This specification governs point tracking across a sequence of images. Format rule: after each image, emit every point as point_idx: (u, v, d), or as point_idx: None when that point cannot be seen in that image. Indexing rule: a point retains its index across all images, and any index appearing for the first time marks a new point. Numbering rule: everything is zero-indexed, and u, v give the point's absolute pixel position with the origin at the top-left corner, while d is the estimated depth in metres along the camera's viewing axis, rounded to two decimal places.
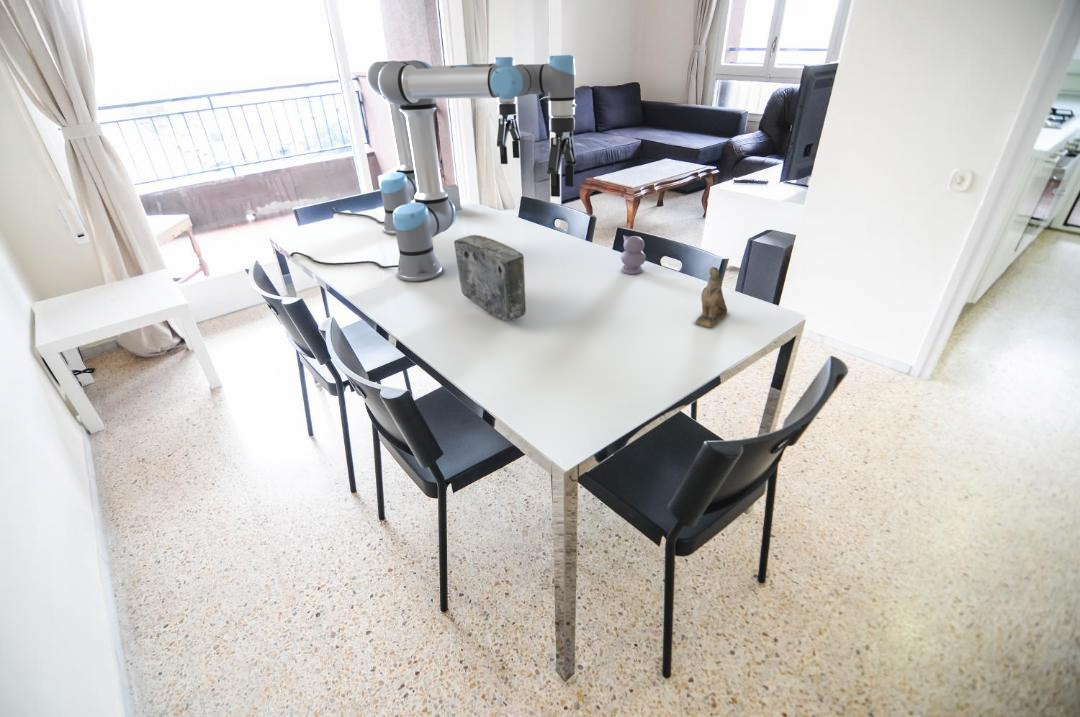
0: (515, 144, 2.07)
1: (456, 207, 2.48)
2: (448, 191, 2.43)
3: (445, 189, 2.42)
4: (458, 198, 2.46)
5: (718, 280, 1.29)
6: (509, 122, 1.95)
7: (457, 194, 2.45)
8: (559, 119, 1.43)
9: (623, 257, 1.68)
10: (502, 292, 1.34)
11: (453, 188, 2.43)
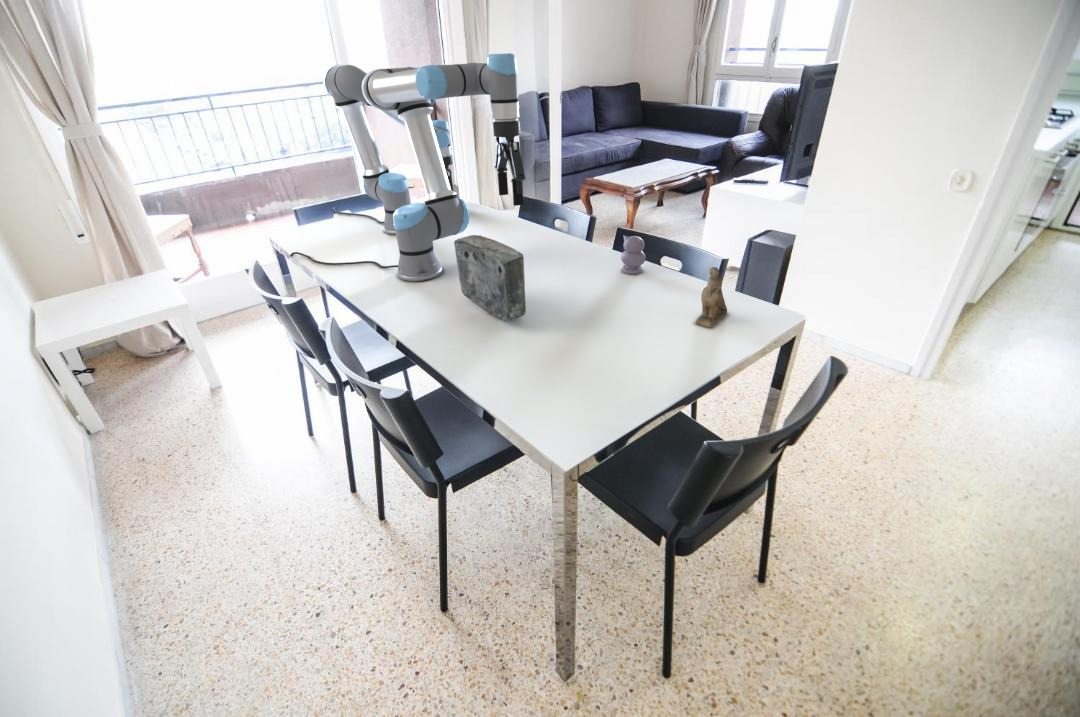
0: None
1: None
2: None
3: None
4: None
5: (718, 280, 1.29)
6: None
7: (457, 194, 2.45)
8: (511, 122, 1.32)
9: (623, 257, 1.68)
10: (502, 292, 1.34)
11: (453, 188, 2.43)
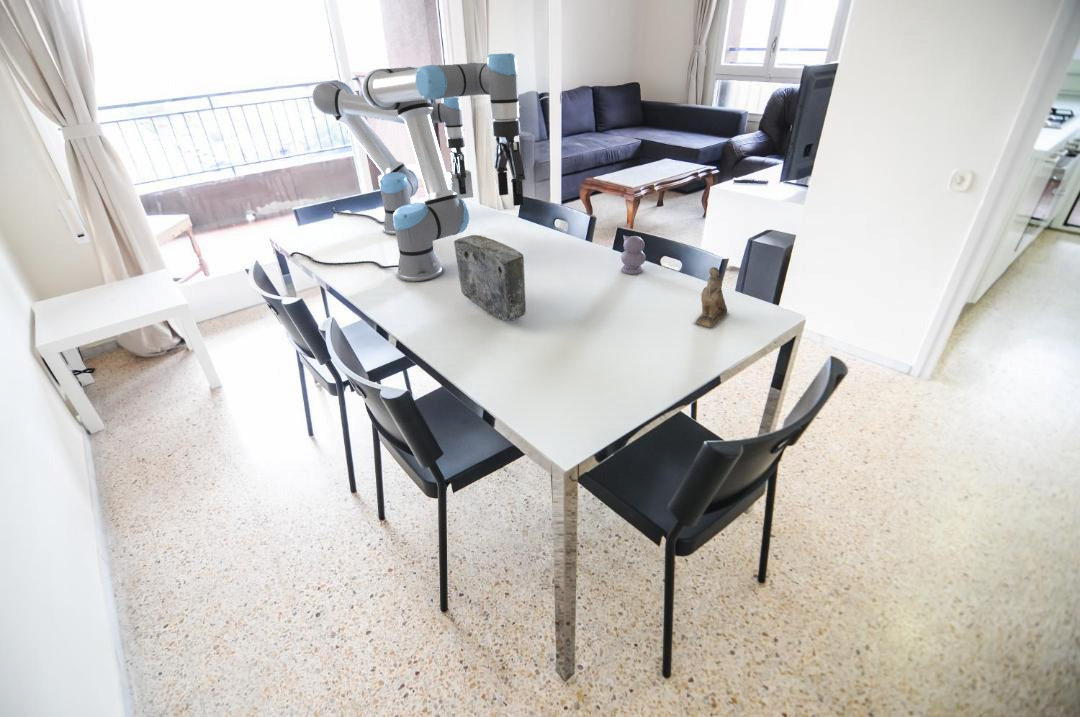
0: None
1: (468, 195, 2.25)
2: None
3: (456, 175, 2.19)
4: (470, 185, 2.24)
5: (718, 280, 1.29)
6: None
7: (470, 181, 2.23)
8: (511, 122, 1.32)
9: (623, 257, 1.68)
10: (502, 292, 1.34)
11: None
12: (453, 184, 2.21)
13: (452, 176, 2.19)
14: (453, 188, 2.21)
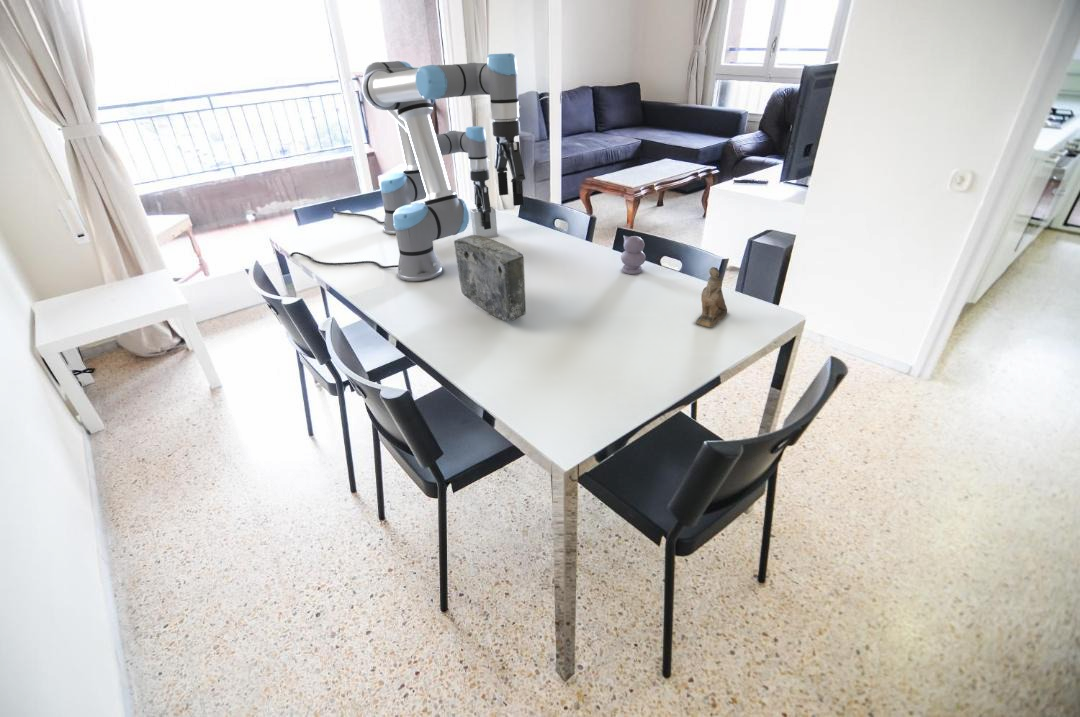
0: None
1: (492, 234, 2.09)
2: None
3: (480, 213, 2.03)
4: (495, 223, 2.07)
5: (718, 280, 1.29)
6: None
7: (494, 219, 2.06)
8: (511, 122, 1.32)
9: (623, 257, 1.68)
10: (502, 292, 1.34)
11: None
12: (476, 223, 2.04)
13: (475, 215, 2.02)
14: (476, 227, 2.05)
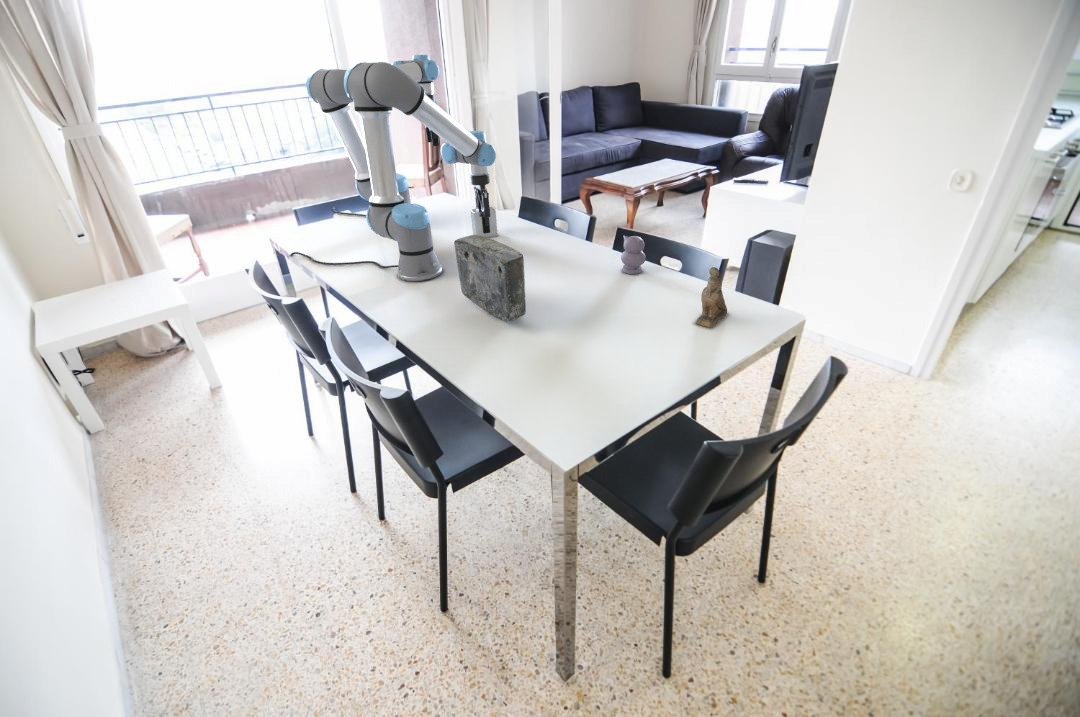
0: (429, 130, 2.41)
1: (492, 234, 2.09)
2: None
3: (480, 213, 2.03)
4: (495, 223, 2.07)
5: (718, 280, 1.29)
6: None
7: (494, 219, 2.06)
8: (482, 176, 1.95)
9: (623, 257, 1.68)
10: (502, 292, 1.34)
11: None
12: (476, 223, 2.04)
13: (475, 215, 2.02)
14: (476, 227, 2.05)
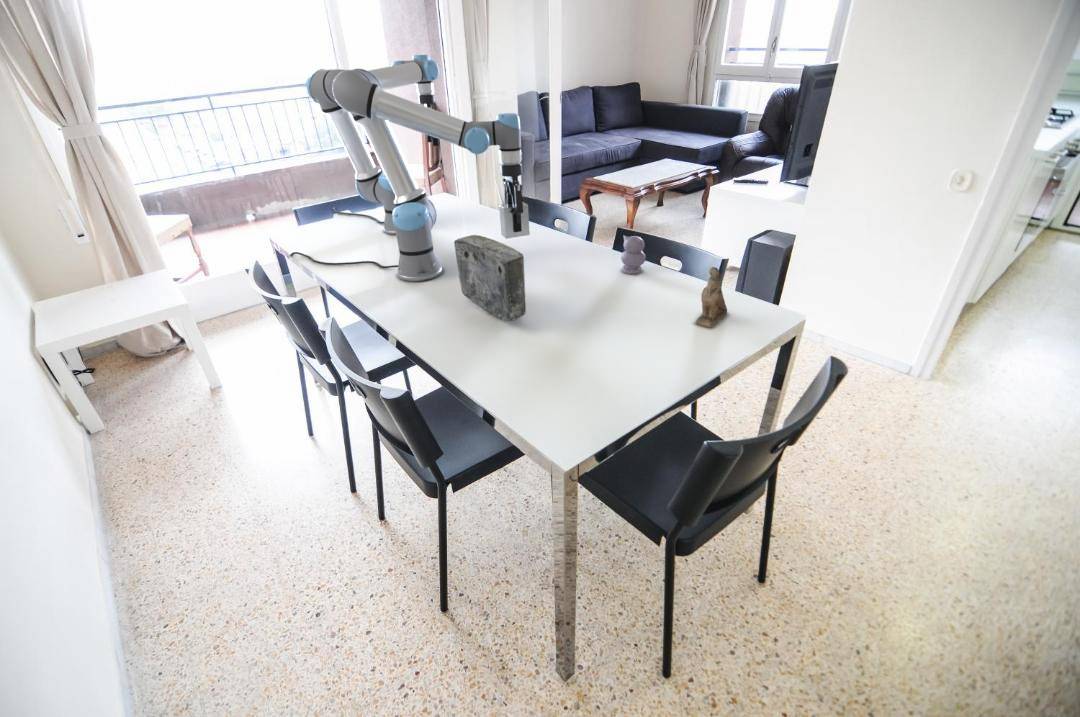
0: None
1: (524, 232, 1.83)
2: None
3: (511, 209, 1.77)
4: (527, 220, 1.81)
5: (718, 280, 1.29)
6: None
7: (526, 216, 1.80)
8: (515, 165, 1.69)
9: (623, 257, 1.68)
10: (502, 292, 1.34)
11: None
12: (506, 220, 1.78)
13: (506, 211, 1.76)
14: (506, 225, 1.79)
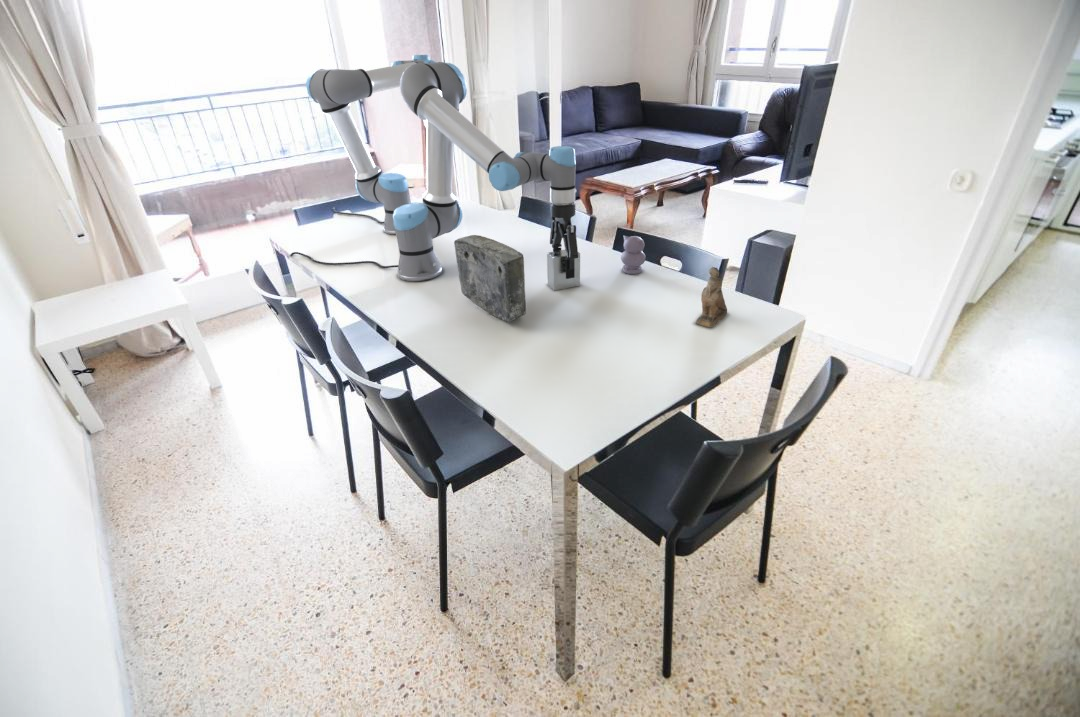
0: None
1: (574, 283, 1.61)
2: (564, 261, 1.56)
3: (561, 258, 1.55)
4: (578, 270, 1.59)
5: (718, 280, 1.29)
6: None
7: (578, 265, 1.59)
8: (568, 206, 1.47)
9: (623, 257, 1.68)
10: (502, 292, 1.34)
11: None
12: (555, 271, 1.57)
13: (555, 260, 1.55)
14: (555, 276, 1.57)
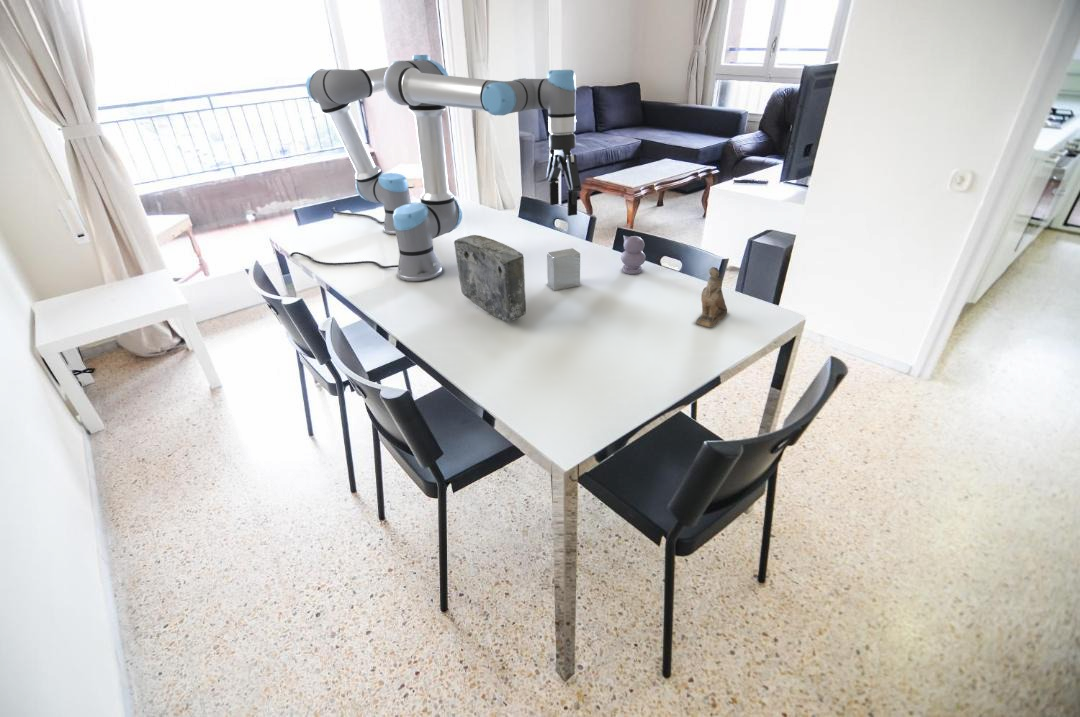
0: None
1: (574, 283, 1.61)
2: (564, 261, 1.56)
3: (561, 258, 1.55)
4: (578, 270, 1.59)
5: (718, 280, 1.29)
6: None
7: (578, 265, 1.59)
8: (568, 135, 1.37)
9: (623, 257, 1.68)
10: (502, 292, 1.34)
11: (573, 256, 1.56)
12: (555, 271, 1.57)
13: (555, 260, 1.55)
14: (555, 276, 1.57)
